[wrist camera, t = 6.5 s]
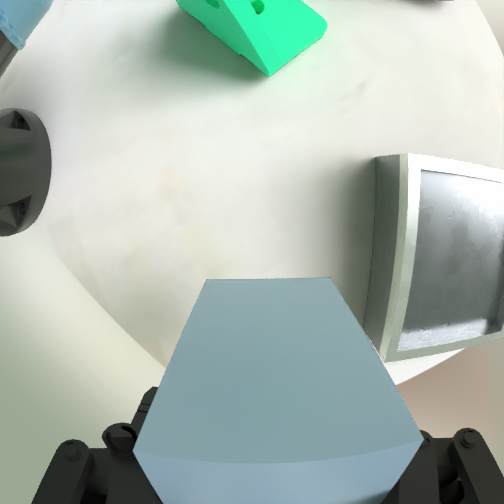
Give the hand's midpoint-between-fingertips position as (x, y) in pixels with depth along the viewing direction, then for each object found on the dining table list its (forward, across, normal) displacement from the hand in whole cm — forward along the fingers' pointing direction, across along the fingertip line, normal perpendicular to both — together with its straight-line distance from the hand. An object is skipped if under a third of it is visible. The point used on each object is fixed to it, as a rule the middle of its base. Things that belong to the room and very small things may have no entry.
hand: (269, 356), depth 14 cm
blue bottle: (+1, 0, 0) cm, 1 cm away
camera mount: (+14, -1, +24) cm, 28 cm away
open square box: (+14, +18, +2) cm, 23 cm away
